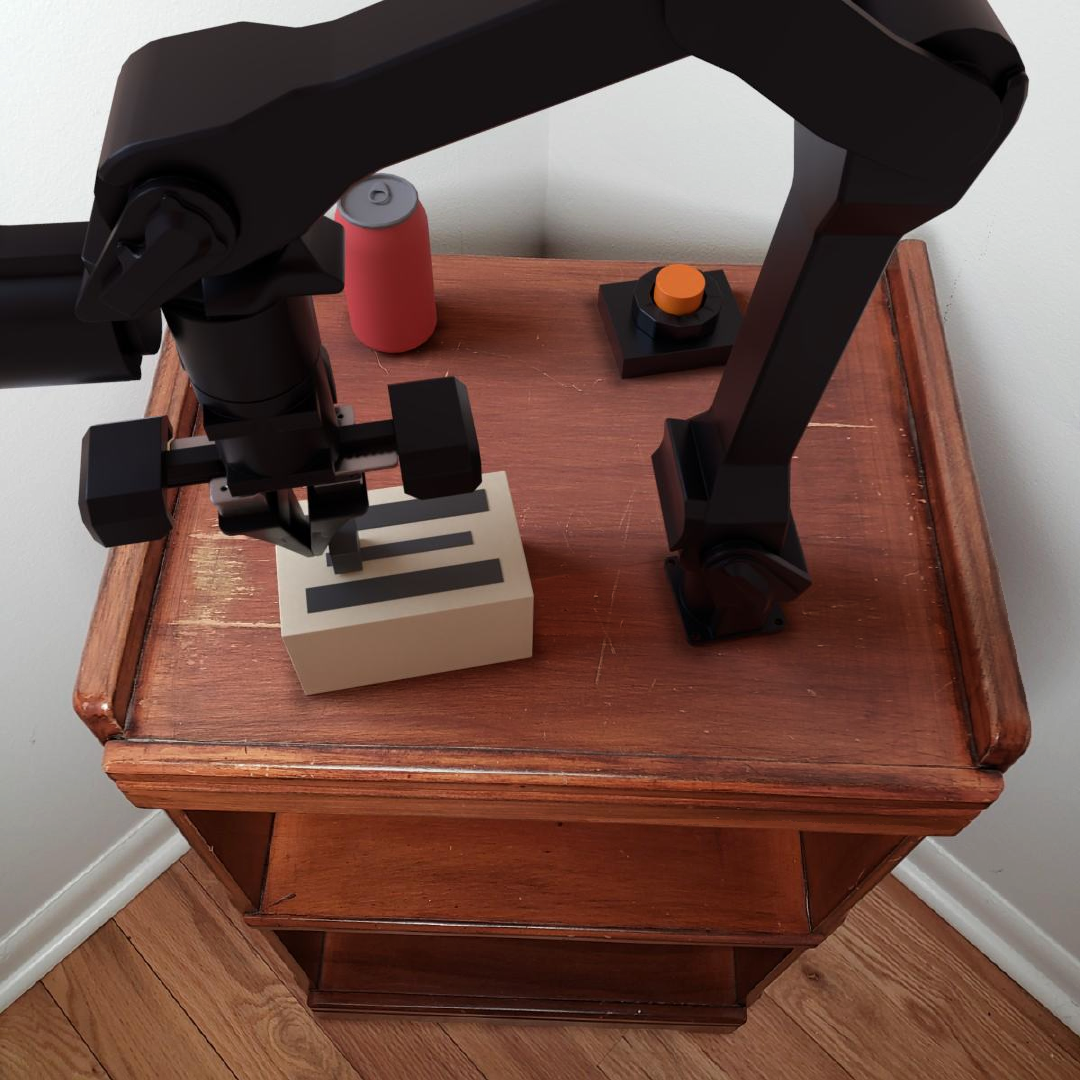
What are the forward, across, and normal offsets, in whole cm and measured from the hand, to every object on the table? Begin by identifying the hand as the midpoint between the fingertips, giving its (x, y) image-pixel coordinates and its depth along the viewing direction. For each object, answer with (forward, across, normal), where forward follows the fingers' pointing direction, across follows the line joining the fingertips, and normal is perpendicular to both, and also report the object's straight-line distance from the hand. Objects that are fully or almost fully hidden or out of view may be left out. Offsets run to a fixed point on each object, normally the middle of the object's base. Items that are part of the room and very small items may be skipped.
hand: (314, 549), depth 57 cm
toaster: (+9, -5, 0) cm, 10 cm away
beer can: (+9, -7, -26) cm, 28 cm away
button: (+5, -28, -21) cm, 35 cm away
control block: (+9, -28, -21) cm, 36 cm away
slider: (+1, -2, 0) cm, 2 cm away
